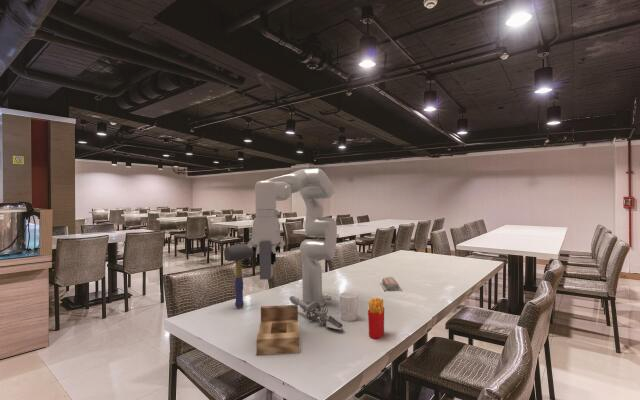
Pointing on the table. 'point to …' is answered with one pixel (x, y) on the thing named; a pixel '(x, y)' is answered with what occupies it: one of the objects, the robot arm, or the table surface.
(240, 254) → the rubber mallet
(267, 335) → the wooden frame stool
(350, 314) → the white cup
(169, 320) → the table surface
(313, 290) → the robot arm
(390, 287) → the packaged product
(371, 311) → the french fries
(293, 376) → the table surface
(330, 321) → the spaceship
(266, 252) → the brushed grey post
